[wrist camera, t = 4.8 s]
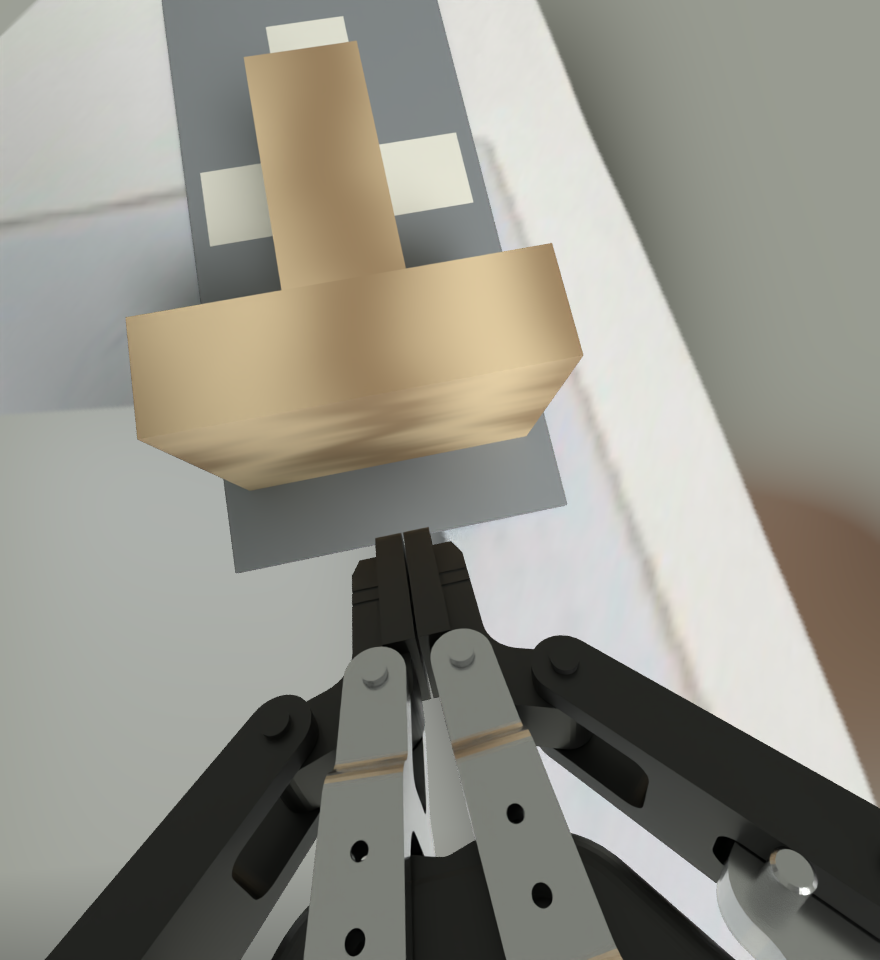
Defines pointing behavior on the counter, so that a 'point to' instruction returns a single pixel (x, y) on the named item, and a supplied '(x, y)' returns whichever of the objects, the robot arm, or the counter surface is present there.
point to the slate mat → (422, 232)
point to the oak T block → (346, 315)
